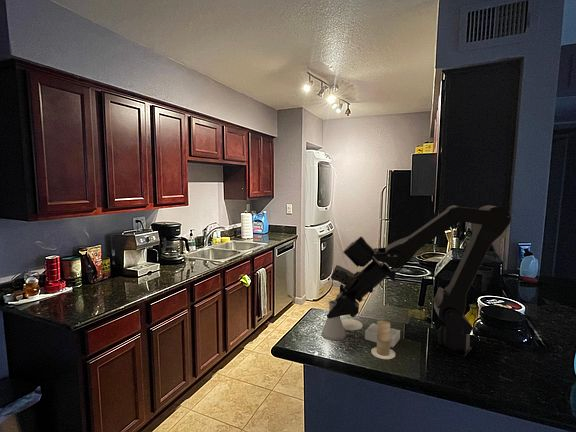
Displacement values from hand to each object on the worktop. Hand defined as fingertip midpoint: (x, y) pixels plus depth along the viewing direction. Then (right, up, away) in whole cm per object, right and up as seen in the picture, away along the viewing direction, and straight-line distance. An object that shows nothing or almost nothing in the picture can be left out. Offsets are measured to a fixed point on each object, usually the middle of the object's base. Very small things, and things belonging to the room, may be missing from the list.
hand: (329, 312), depth 90 cm
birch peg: (+13, -7, -10) cm, 18 cm away
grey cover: (+15, -7, -2) cm, 16 cm away
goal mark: (+7, -6, +7) cm, 12 cm away
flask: (+1, -7, 0) cm, 7 cm away
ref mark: (+13, -7, -10) cm, 18 cm away
